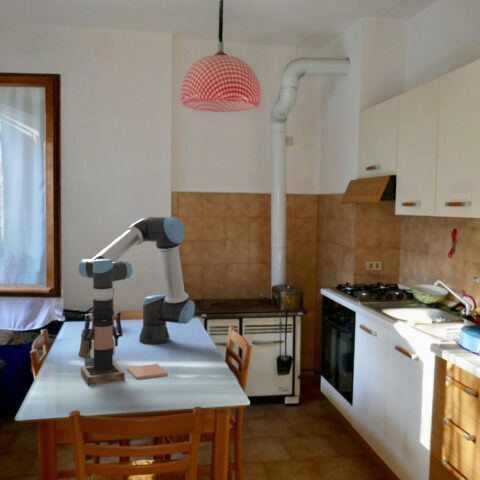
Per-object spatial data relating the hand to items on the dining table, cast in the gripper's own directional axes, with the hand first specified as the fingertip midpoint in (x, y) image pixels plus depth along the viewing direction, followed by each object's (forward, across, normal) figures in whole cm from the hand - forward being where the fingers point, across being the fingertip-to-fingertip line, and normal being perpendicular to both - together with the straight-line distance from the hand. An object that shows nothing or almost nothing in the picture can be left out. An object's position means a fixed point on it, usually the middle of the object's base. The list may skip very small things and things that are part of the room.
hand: (103, 355), depth 210 cm
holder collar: (+9, 0, 0) cm, 9 cm away
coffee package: (+10, -20, -86) cm, 89 cm away
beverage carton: (+9, -2, -17) cm, 20 cm away
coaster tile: (+9, -18, +1) cm, 20 cm away
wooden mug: (+9, -4, -34) cm, 35 cm away
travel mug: (+5, 0, 0) cm, 5 cm away
